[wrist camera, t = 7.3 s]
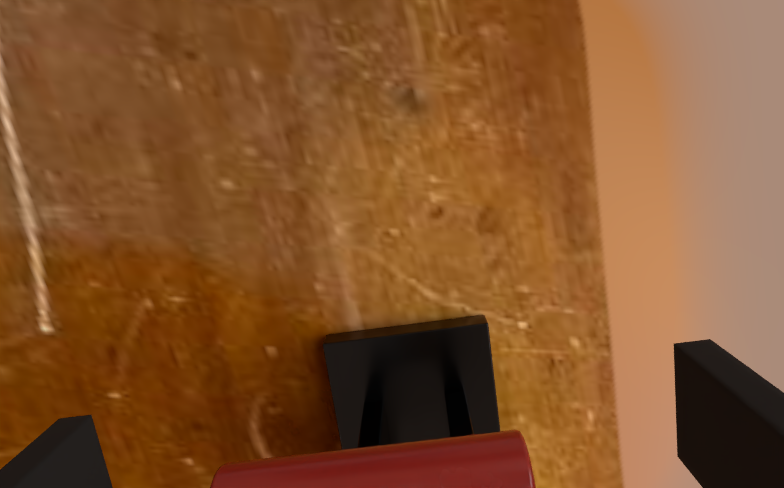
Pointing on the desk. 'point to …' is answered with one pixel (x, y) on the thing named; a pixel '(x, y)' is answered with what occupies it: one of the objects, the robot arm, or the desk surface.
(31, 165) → the desk surface
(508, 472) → the lever
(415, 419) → the bracket
